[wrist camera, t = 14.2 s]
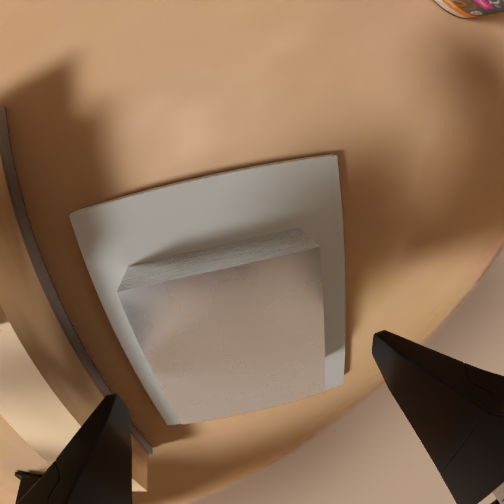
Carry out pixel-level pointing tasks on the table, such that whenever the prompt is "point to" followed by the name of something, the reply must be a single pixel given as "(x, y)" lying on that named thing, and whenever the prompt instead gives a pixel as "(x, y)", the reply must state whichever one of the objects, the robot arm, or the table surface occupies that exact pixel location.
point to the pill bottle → (472, 7)
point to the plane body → (42, 341)
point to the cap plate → (231, 324)
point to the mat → (218, 240)
